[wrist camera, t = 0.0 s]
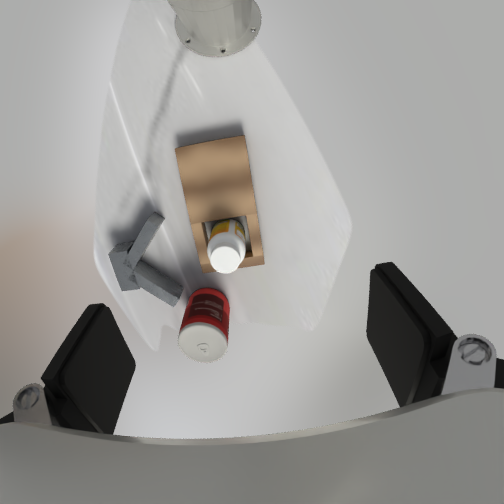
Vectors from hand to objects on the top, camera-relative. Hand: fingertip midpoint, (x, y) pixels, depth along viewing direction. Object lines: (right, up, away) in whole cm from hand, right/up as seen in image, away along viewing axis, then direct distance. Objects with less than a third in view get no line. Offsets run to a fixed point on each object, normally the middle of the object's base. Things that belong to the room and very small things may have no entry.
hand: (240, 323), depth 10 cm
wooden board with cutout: (-4, +10, +36) cm, 37 cm away
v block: (-17, +1, +39) cm, 43 cm away
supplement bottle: (-3, +5, +38) cm, 39 cm away
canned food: (-7, -7, +43) cm, 45 cm away
